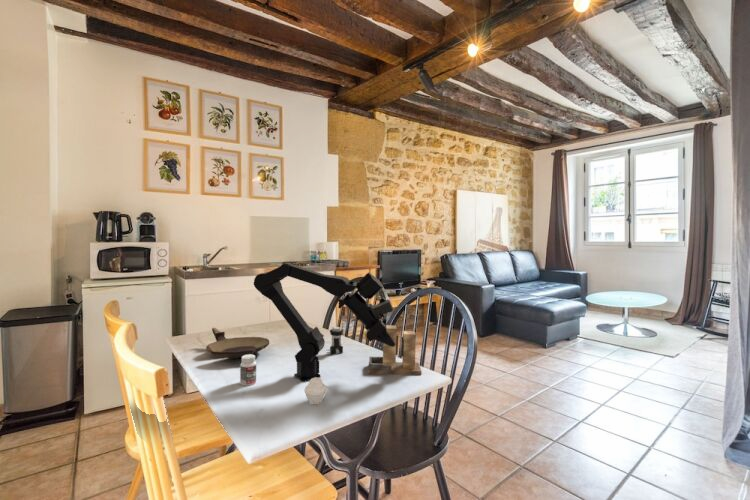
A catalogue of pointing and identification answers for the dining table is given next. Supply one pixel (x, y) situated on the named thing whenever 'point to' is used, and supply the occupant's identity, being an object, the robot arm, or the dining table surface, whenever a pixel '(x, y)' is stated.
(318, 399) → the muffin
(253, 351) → the oil lamp
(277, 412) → the dining table surface
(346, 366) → the dining table surface
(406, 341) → the wooden pillar stand
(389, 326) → the oak finger
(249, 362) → the pill bottle
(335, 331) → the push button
